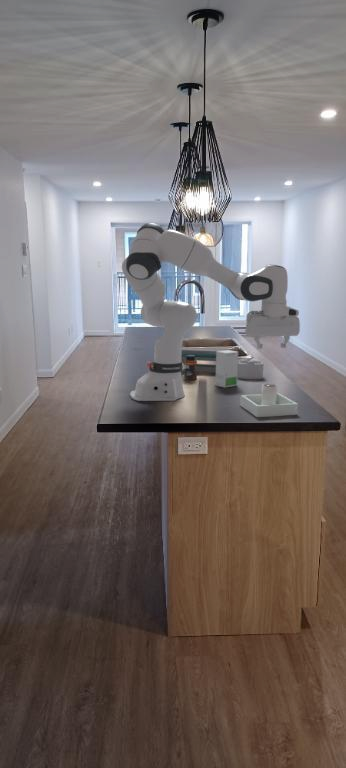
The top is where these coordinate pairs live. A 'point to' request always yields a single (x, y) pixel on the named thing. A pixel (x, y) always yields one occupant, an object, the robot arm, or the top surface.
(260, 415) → the sage tray
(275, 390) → the white cup
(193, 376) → the supplement bottle
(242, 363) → the lumpy-topped squat cylinder
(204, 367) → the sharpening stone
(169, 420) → the top surface
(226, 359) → the skincare box
